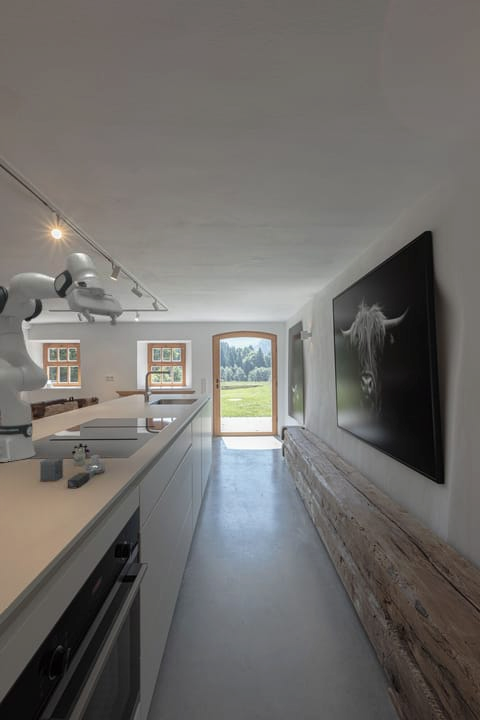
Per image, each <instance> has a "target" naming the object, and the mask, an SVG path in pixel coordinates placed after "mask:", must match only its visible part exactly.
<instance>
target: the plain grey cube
mask: <svg viewBox="0 0 480 720" xmlns="http://www.w3.org/2000/svg"><path fill="white" fill-rule="evenodd" d="M63 459H64V458H62V457H60V458H58V457H57V458H55V457H54V458H47V459H44V460H42V461H40V464H39V465H40V466H39V469H40V470H39V471H40V474H39V477H40V482H56V481H58V480H59V479H61V478H63V477H64V476H63V475H64V473H63V471H64V469H63V468H64V467H63V466H64V463H63V462H64V460H63Z"/></svg>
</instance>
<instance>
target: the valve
mask: <svg viewBox="0 0 480 720" xmlns="http://www.w3.org/2000/svg"><path fill="white" fill-rule="evenodd" d="M73 448H74V450H72V451H71V454H72V455H73V454H74V455H73V459H74V464H75V465H74V466H75V467H81V466H86V464H85V463H86V461H85V460H86V459H87V457H88V453H90V449H89V448H88V445H87V444H85V445H83V443H81V442H80V443H79V444H78V446H77V445H75V446H73Z"/></svg>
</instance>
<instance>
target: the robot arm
mask: <svg viewBox="0 0 480 720" xmlns="http://www.w3.org/2000/svg"><path fill="white" fill-rule="evenodd" d="M48 299H50V300H51V299H64V300H67V305H68V306H69V309H70V310H71V311H72V312H74V313H81V314H82V316H83V317H84V318H85V319H86V320H87V322H88V324H94V323H96V322H95V321H96V319H95V316H103V317H109V318H110V319H111V320H110V321H109V324H110V325H111V326H116V325H118V321H117V319H118V318H119V317H120V316H122V314H123V313H124V310H123V308H122V305H121V304H120V302H119V300H118V299H117V298H116V297H115V296H113V295H112V294H108V293H106V290H105V288H104V286H103V284H102V281H101V279H100V277H98V270H97V268H96V266H95V264H94V262H93V260H92V258H90V256H89V255H87V254H86V253H80V252H75V253H72V254H69V255H68V257H67V258H66V266H65V268H64V270H63V271H62V272H61V273H60V274H58V275H57V276H56V277H51V276H49V275H45V274H43V273H39V272H23V273H19V274H16V275H14V276H13V277H11V279H10V280H9V285H8V287H5V286H3V285H0V359H1V360H3V361H5V362H6V363H8V364H9V365H10V366H0V462H4V463H8V461H9V462H12V461H20V460H25V459H29V458H32V457H34V456H36V451H35V446H34V443H33V430H34V429H33V423H32V406H31V405H30V403H29V402H27V401H26V400H23V399H21V398H20V395H19V392H35V391H37V390H41V389H43V388H45V387H46V386H47V383H48V379H49V377H48V376H49V375H48V374H47V371H46V370H45V369H44V368H42V367H41V366H39V365H38V364H37V363H36V362H35V361H34V360H33V359H32V357H31V355H30V354H29V353H28V350H27V349H28V348H27V344H26V340H25V336H24V331H23V327H22V325H23V321H25V322H26V323H29V322H31V321H32V320H34V319H36V318H37V317H39V315H41V313H42V311H43V303H42V300H48ZM92 315H95V316H92Z"/></svg>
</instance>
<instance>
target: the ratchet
mask: <svg viewBox="0 0 480 720" xmlns="http://www.w3.org/2000/svg"><path fill="white" fill-rule="evenodd" d="M105 466H106V465H105V463H104V462H100V454H93V455H91V456H90V463H86V464H85V470H84V471H82V472H78V473H77V474H75V475H73V476H72V477H71V478H68V480H67V489H79V488H81V487H82V486H84V484H86V483H88V482H89V481H90V479H92V478H93V477H95V476H96V475H101V474H103V473H105V470H106V469H105Z"/></svg>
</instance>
